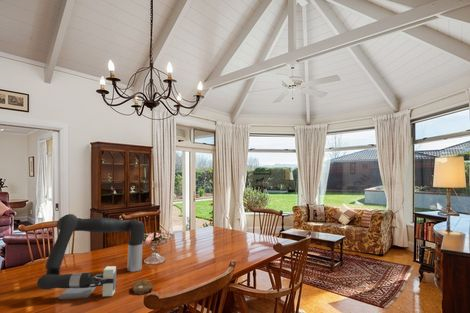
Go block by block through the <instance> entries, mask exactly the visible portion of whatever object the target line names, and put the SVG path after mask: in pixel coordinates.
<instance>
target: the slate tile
mask: <svg viewBox="0 0 470 313" xmlns="http://www.w3.org/2000/svg"><path fill="white" fill-rule="evenodd" d="M96 288H97V287H89V288H66V290H64V291H63V292H62V294H60V295H59V296H58V300H68V299H69V300H70V299H73V300H74V299H85V298H86V299H87V298H89V296H90V295H91V294H92V293H93V292H94V291H95V289H96Z"/></svg>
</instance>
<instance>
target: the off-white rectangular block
mask: <svg viewBox="0 0 470 313" xmlns="http://www.w3.org/2000/svg"><path fill="white" fill-rule="evenodd" d="M102 273H103V278H102V279H113V283H109V284H106V283H105V284H103V286H102V295H101V296H102V297H113V296H114V294H115V292H116V288H117V286H116V285H117V266H115V265H113V266H108V265H107V266H105V268H104V269H103V272H102Z"/></svg>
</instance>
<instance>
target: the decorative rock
mask: <svg viewBox="0 0 470 313" xmlns="http://www.w3.org/2000/svg"><path fill="white" fill-rule="evenodd" d="M131 285H132V291H133V292H134V294H135V295H139V296H143V294H144V295H145V294H146V293H149V291H151V290H154V285H153V283H151V282H150V280H149V279H139V280H137V281H135V283H133V284H131Z"/></svg>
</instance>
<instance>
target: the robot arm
mask: <svg viewBox="0 0 470 313" xmlns="http://www.w3.org/2000/svg"><path fill="white" fill-rule="evenodd" d="M56 228H57V230H59V232H58V236H57V238H56V239H55V242H54V244H53V246H52V248H51V250H50V253H49V255H48V258H47V261H46V264H45V269H46V273H45V274H44V275H41V276H40V277H39V278H38V280H37V282H36V286H37V287H38V288H39V289H40V290H52V289H68V288H89V287H96V288H98V287H103V284H105V283H106V284H109V283H113V279H103V272H98V274H96V275H93V273H92V272H76V273H65V274H60V273H61V265H62V263H63V260H64V257H65V254H66V251H67V248H68V245H69V242H70V239H71V237H72V235H73V233H74V232H88V233H89V232H90V233H101V234H102V233H104V234H106V233H107V234H109V233H110V234H111V233H115V232H116V233H117V232H127V233H130V238H129V240H128V241H127V242H128V243H127V244H128V246H127V272H131V273H132V272H139V271H141V270H142V269H143V268H142V266H143V243H144V242H143V241H144V239H145V224H144V222H142V220H141V221H140V220H138V219H124V220H123V219H117V218H111V217H93V218H92V217H90V218H79V217H77V216H76V215H75V214H74V213H69V214H66V215H64V216H62V217H60V218H59V219H58V220H57V221H56Z"/></svg>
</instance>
